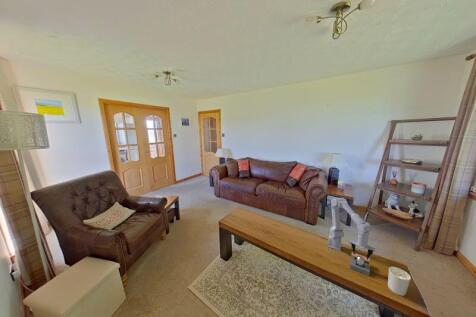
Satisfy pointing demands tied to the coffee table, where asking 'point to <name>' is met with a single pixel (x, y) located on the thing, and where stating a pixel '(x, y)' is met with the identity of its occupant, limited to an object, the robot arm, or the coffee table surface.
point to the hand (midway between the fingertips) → (360, 255)
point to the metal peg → (360, 261)
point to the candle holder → (398, 280)
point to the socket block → (363, 270)
